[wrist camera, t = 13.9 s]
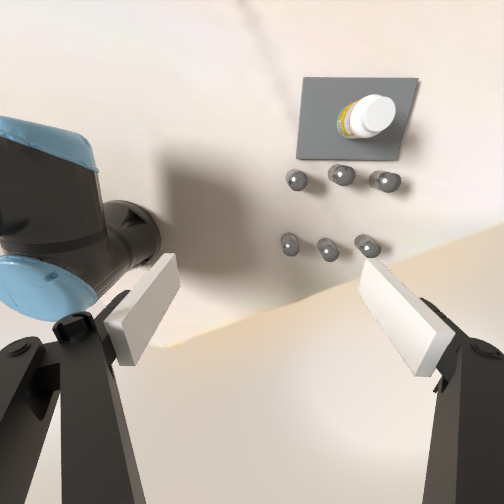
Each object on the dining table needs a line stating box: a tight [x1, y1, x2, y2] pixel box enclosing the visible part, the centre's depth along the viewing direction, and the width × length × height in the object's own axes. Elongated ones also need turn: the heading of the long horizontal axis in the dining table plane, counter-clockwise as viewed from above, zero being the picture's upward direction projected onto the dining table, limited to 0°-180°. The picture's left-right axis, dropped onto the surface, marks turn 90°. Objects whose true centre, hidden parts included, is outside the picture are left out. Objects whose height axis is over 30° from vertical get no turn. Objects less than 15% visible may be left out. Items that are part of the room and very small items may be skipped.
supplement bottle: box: [337, 94, 396, 139], centre depth 33 cm, size 5×5×10 cm
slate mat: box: [296, 77, 419, 160], centre depth 38 cm, size 18×12×1 cm, turn 89°
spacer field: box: [281, 164, 401, 262], centre depth 43 cm, size 19×18×5 cm
